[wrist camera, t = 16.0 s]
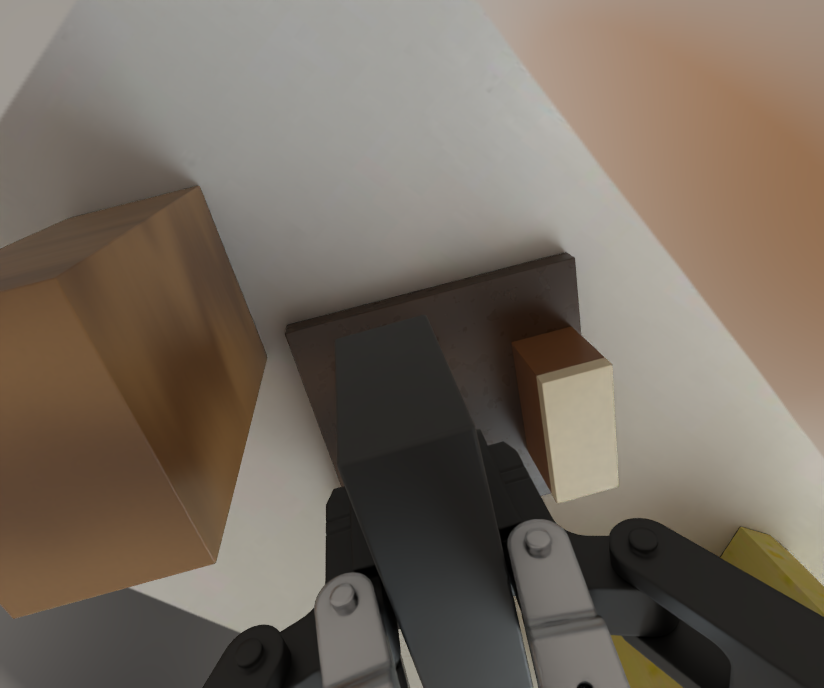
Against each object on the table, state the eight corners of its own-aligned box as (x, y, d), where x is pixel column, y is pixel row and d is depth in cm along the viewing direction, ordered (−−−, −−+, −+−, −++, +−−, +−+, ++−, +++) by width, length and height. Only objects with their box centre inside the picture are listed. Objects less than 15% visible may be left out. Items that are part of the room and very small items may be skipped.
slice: (510, 342, 37) (541, 383, 31) (571, 325, 37) (612, 364, 31) (527, 451, 41) (557, 504, 36) (581, 436, 41) (619, 486, 36)
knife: (333, 338, 13) (335, 465, 8) (425, 312, 13) (475, 426, 8) (480, 765, 23) (517, 930, 18) (533, 749, 23) (583, 909, 18)
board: (286, 324, 35) (284, 333, 34) (566, 251, 36) (575, 257, 35) (362, 531, 44) (363, 545, 43) (585, 470, 45) (593, 481, 43)
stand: (67, 218, 31) (-227, 349, 14) (199, 184, 31) (54, 277, 15) (155, 386, 36) (12, 620, 20) (267, 357, 36) (216, 564, 20)
